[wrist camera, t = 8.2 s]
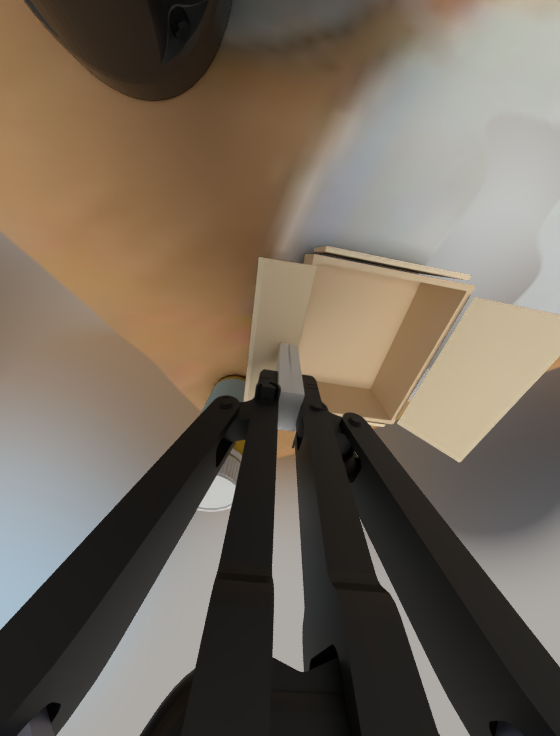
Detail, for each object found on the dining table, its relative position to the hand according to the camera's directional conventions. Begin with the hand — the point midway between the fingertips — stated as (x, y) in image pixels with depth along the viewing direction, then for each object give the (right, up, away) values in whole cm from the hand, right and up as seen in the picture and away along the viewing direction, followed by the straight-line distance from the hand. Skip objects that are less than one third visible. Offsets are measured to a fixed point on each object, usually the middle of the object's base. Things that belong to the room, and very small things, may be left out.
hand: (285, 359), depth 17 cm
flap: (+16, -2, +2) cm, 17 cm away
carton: (+8, +4, +10) cm, 13 cm away
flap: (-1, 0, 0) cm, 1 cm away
